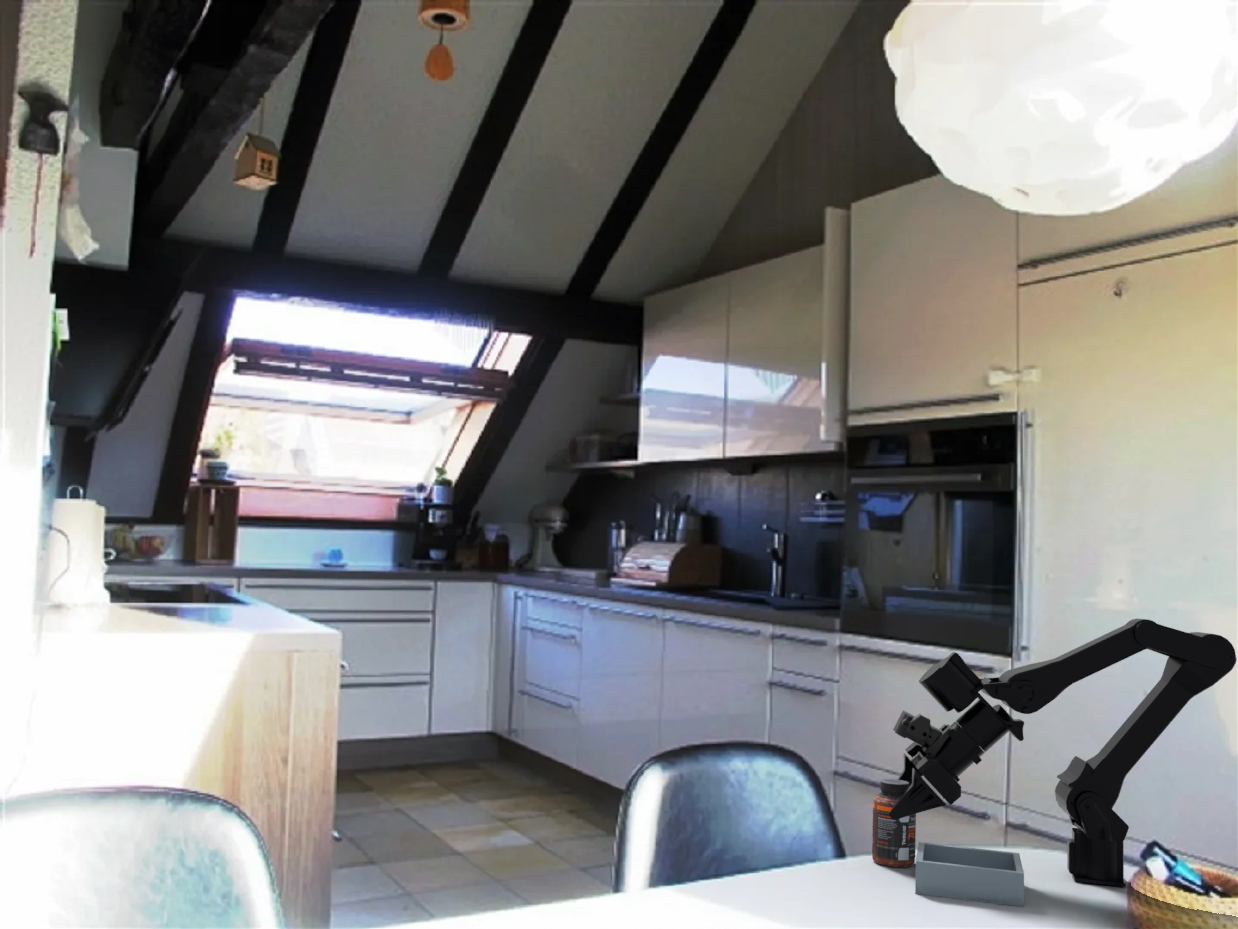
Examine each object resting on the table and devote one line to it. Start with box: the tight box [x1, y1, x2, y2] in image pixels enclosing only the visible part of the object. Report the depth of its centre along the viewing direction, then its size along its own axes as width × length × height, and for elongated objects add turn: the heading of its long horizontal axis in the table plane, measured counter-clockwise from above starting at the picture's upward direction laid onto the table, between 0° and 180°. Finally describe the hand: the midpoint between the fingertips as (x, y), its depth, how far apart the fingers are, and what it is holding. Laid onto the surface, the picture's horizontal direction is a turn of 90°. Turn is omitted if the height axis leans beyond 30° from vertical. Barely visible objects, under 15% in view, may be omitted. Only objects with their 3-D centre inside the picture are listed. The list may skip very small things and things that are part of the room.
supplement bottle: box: [871, 778, 917, 868], centre depth 154 cm, size 6×6×11 cm
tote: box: [914, 841, 1025, 908], centre depth 142 cm, size 13×11×4 cm
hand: (888, 810), depth 155 cm, fingers open, 9 cm apart
